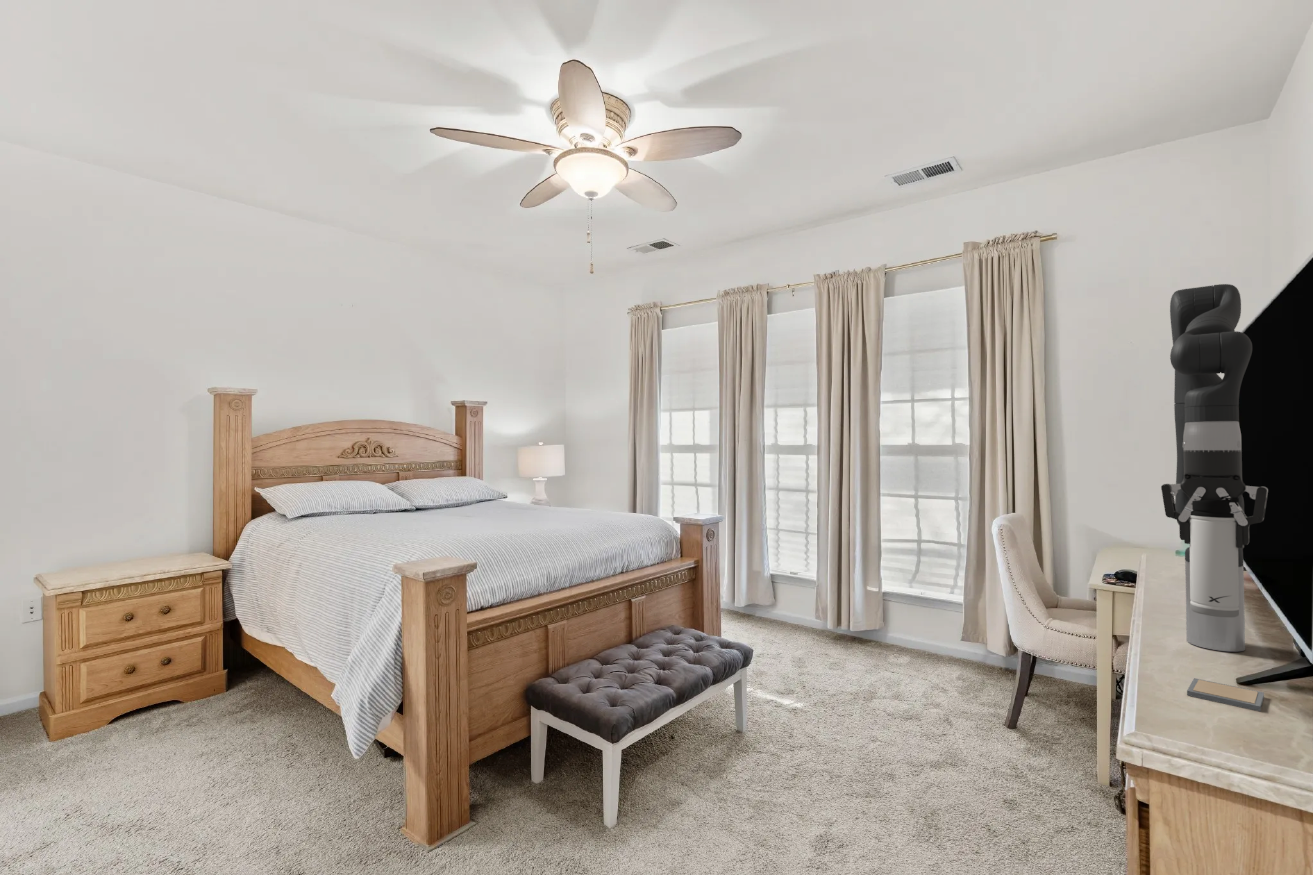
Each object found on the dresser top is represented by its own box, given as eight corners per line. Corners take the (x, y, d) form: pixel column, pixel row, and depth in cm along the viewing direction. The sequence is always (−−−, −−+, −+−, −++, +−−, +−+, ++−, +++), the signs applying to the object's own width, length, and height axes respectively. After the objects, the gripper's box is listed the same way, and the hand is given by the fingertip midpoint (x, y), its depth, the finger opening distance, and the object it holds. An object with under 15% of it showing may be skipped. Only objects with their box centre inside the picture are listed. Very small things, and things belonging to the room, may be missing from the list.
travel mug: (1223, 619, 104) (1222, 498, 104) (1181, 609, 110) (1180, 495, 110) (1251, 616, 105) (1249, 497, 106) (1207, 607, 112) (1206, 495, 112)
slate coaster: (1194, 682, 112) (1194, 677, 112) (1264, 697, 106) (1263, 691, 106) (1187, 695, 107) (1186, 689, 107) (1260, 711, 100) (1260, 705, 100)
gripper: (1271, 448, 106) (1273, 548, 105) (1163, 448, 116) (1164, 539, 116) (1267, 448, 101) (1269, 553, 100) (1154, 448, 111) (1156, 543, 111)
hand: (1213, 545), depth 108 cm, fingers closed on travel mug, 6 cm apart
